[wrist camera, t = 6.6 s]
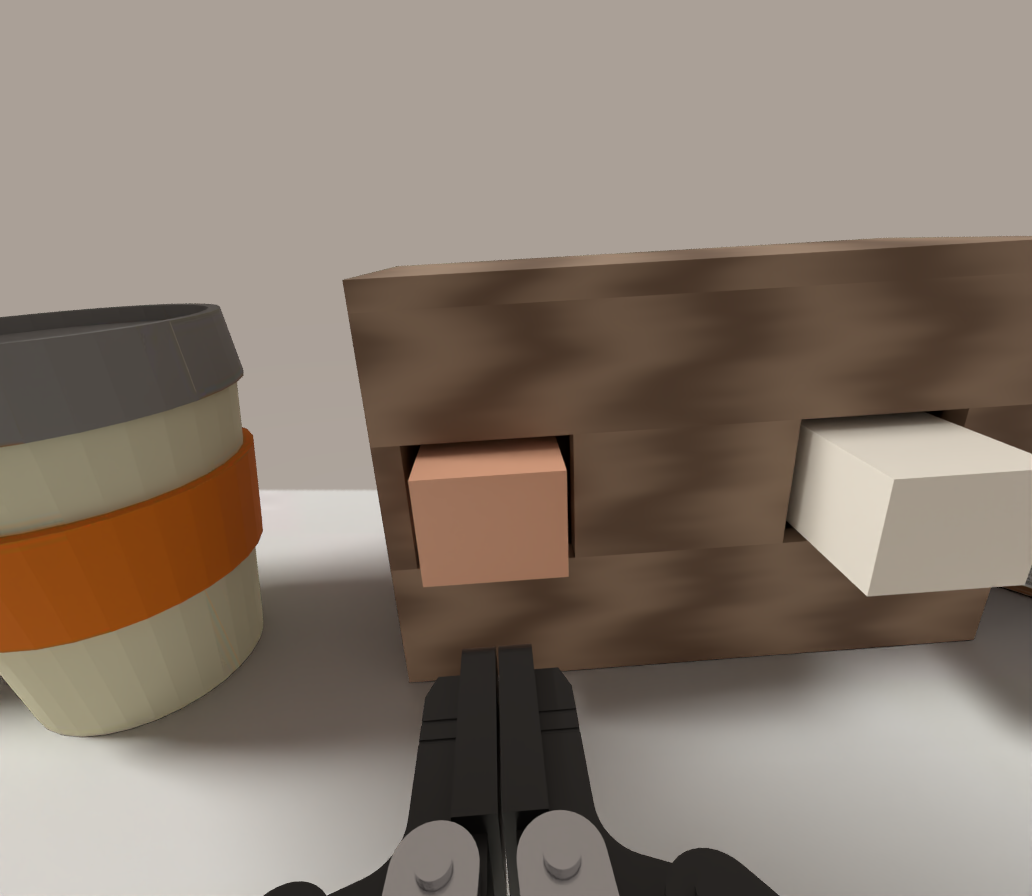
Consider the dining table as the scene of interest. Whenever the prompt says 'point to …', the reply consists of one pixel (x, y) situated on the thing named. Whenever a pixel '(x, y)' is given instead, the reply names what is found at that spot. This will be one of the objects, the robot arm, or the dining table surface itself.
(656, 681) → the dining table surface
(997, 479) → the cream key
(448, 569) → the terracotta key
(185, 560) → the reusable coffee cup
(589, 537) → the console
